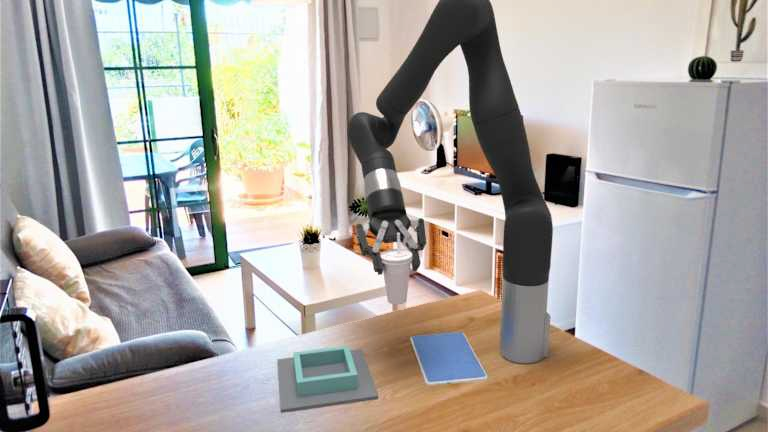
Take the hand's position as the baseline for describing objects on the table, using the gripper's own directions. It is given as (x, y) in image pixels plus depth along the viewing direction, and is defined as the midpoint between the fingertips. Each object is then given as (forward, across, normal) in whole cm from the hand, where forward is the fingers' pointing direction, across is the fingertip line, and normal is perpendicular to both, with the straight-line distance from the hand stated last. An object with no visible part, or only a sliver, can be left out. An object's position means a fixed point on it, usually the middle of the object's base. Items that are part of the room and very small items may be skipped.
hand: (398, 271), depth 109 cm
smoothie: (+4, 0, +6) cm, 7 cm away
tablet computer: (+14, +11, +19) cm, 26 cm away
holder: (+15, -15, +17) cm, 27 cm away
